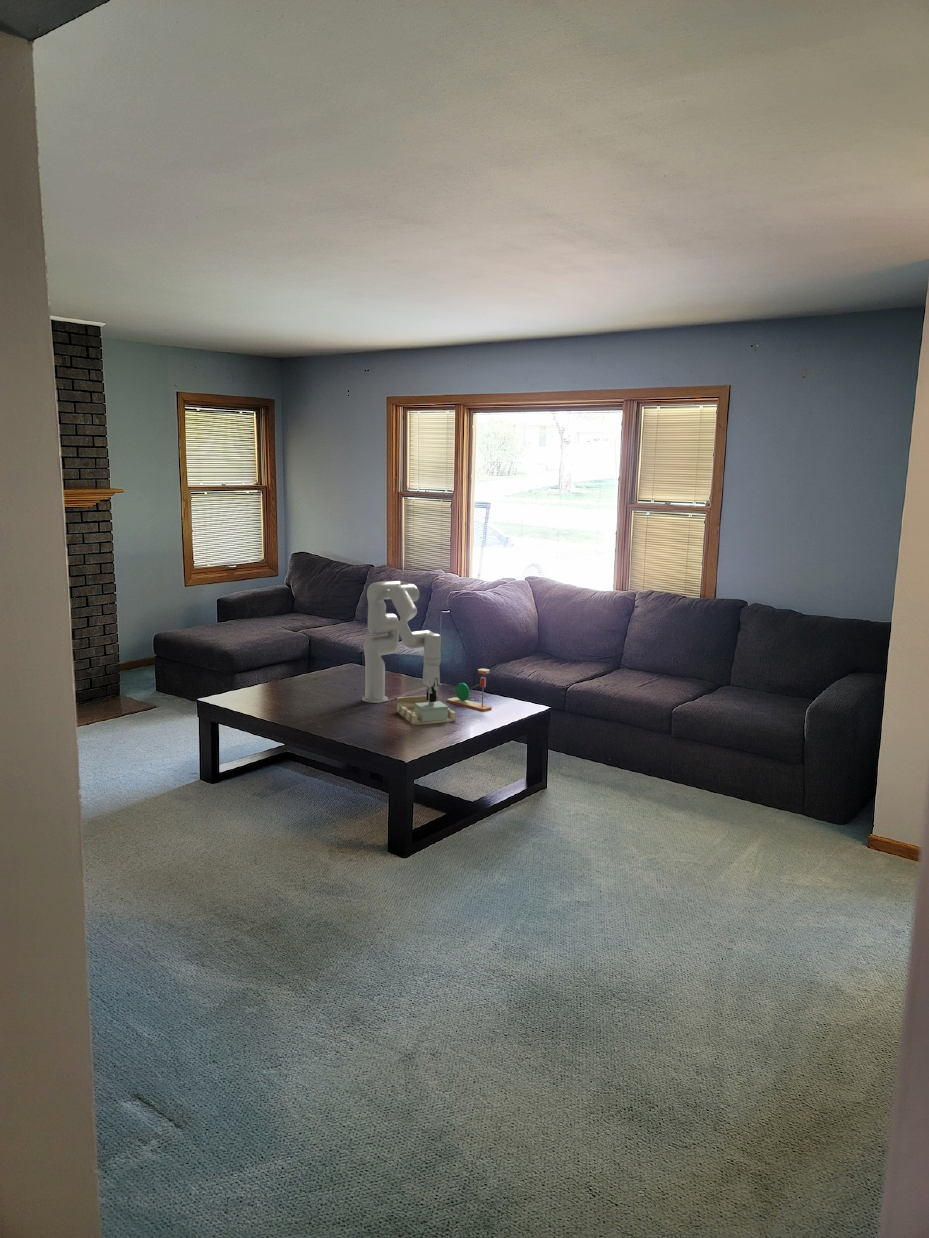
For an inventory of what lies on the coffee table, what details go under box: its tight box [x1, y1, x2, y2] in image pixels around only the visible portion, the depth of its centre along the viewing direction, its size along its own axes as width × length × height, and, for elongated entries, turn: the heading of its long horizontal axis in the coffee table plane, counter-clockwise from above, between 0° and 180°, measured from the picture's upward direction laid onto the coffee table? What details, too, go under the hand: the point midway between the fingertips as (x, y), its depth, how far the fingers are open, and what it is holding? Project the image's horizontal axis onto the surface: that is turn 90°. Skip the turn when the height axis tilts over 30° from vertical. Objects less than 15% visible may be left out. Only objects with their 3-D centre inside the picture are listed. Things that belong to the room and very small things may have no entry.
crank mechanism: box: [446, 668, 492, 712], centre depth 423 cm, size 25×7×19 cm, turn 46°
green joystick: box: [415, 685, 449, 722], centre depth 396 cm, size 10×12×17 cm
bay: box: [396, 693, 457, 726], centre depth 403 cm, size 23×20×7 cm
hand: (431, 700), depth 396 cm, fingers closed on green joystick, 2 cm apart
